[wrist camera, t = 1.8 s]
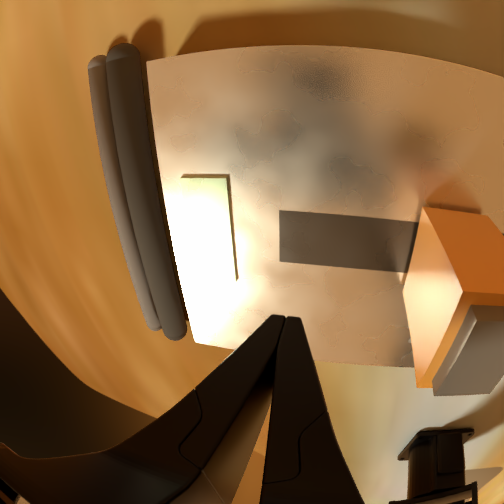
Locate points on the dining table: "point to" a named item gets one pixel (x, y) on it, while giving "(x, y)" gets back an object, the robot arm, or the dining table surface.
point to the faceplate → (317, 184)
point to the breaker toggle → (456, 303)
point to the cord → (134, 185)
